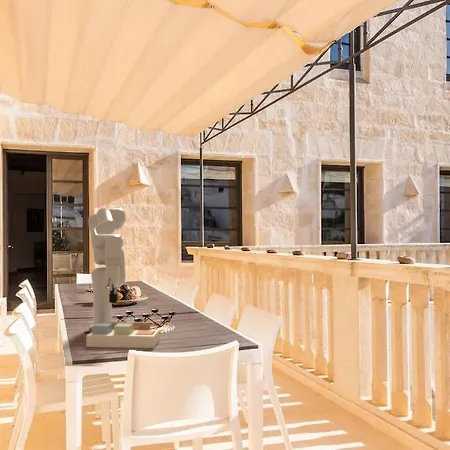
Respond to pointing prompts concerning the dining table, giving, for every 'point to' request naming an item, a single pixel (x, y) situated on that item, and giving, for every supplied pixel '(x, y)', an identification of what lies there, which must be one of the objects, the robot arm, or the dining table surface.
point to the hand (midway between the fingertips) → (113, 302)
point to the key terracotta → (145, 332)
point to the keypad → (125, 337)
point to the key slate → (102, 328)
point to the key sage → (123, 328)
